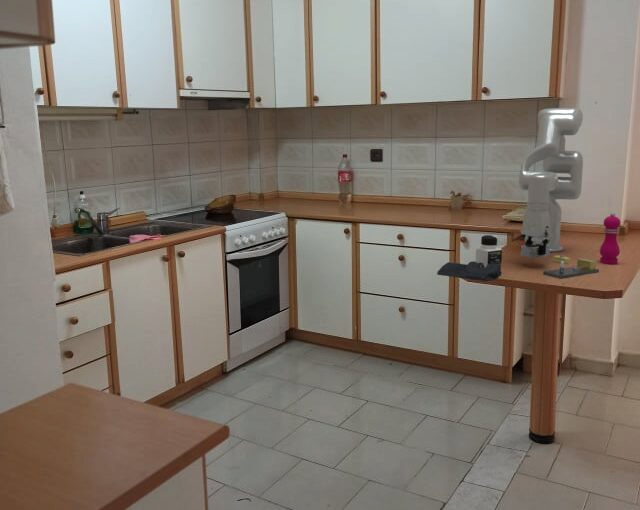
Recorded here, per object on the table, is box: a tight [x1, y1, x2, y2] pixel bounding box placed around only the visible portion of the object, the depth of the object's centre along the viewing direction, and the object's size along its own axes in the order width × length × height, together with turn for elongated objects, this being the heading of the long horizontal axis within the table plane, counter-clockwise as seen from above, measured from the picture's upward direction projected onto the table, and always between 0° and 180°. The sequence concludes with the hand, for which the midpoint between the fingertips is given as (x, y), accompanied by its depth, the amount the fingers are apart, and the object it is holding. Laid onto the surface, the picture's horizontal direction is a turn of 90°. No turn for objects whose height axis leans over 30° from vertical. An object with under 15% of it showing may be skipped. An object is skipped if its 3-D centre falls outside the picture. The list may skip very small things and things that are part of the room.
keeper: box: [542, 257, 600, 279], centre depth 235 cm, size 8×20×5 cm, turn 118°
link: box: [520, 242, 551, 260], centre depth 247 cm, size 6×9×4 cm, turn 118°
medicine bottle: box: [474, 234, 503, 267], centre depth 247 cm, size 7×7×12 cm
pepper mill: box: [599, 211, 621, 265], centre depth 251 cm, size 7×7×20 cm
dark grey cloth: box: [436, 260, 502, 282], centre depth 236 cm, size 15×22×5 cm
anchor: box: [552, 254, 571, 265], centre depth 254 cm, size 6×3×3 cm, turn 28°
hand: (535, 252), depth 247 cm, fingers closed on link, 6 cm apart
